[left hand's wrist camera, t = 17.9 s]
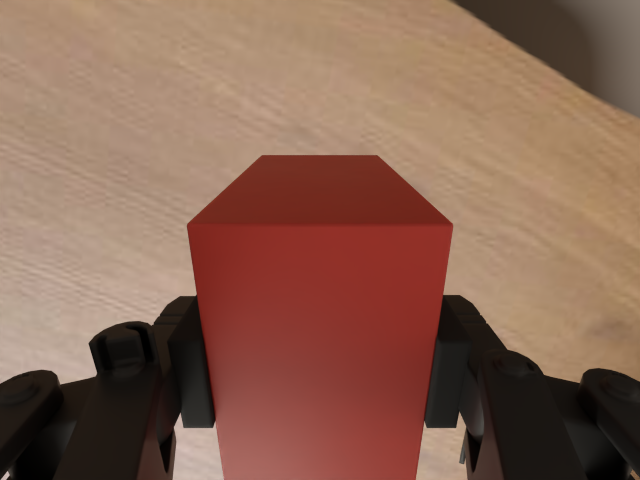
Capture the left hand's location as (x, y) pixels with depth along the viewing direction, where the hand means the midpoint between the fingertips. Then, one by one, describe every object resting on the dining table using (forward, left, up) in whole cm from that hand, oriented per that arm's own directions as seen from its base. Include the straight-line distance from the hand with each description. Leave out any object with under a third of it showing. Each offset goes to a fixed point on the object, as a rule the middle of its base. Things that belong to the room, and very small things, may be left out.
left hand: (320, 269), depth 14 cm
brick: (0, 0, -4) cm, 4 cm away
